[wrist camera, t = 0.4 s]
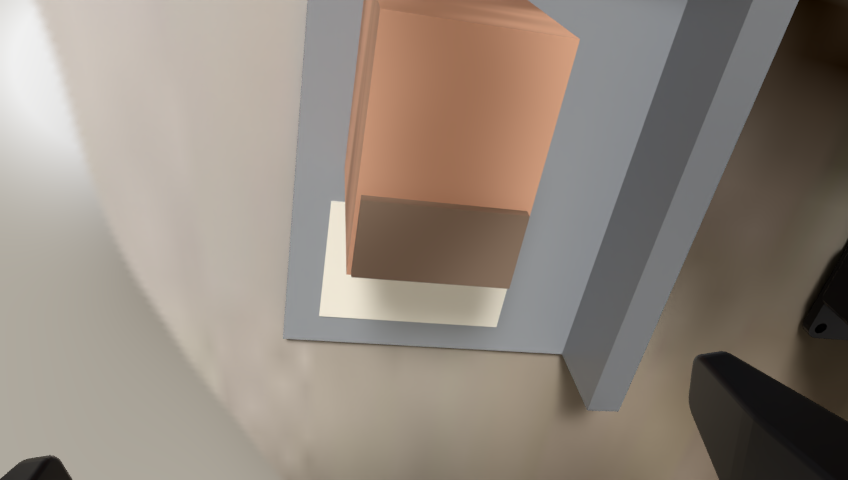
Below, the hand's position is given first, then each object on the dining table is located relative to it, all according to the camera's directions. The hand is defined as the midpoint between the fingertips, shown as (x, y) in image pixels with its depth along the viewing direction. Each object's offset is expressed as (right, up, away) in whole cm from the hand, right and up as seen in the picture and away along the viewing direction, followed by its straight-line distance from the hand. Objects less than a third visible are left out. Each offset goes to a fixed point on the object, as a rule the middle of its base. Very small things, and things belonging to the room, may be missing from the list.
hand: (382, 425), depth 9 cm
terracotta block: (+1, +7, +10) cm, 12 cm away
